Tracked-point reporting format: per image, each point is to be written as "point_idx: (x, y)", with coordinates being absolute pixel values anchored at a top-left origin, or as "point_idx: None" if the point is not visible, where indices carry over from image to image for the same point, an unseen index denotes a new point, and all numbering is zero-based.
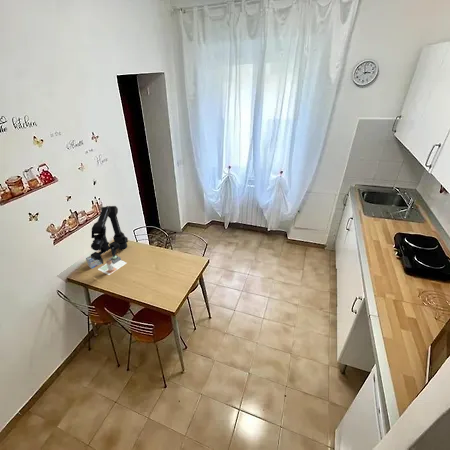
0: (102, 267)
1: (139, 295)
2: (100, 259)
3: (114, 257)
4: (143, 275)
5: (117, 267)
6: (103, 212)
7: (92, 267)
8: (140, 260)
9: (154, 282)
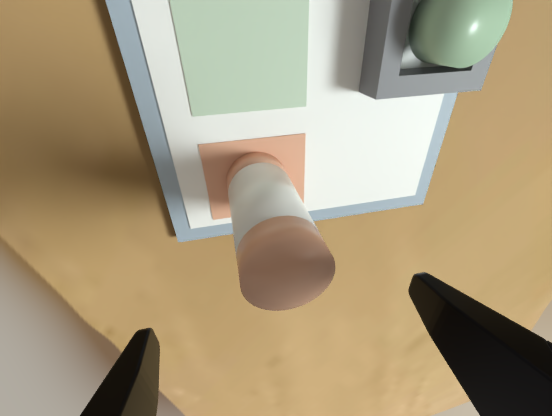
0: (210, 6)
1: None
2: None
3: (456, 52)
4: (340, 349)
5: (321, 185)
6: None
7: None
8: (471, 232)
9: (323, 398)
